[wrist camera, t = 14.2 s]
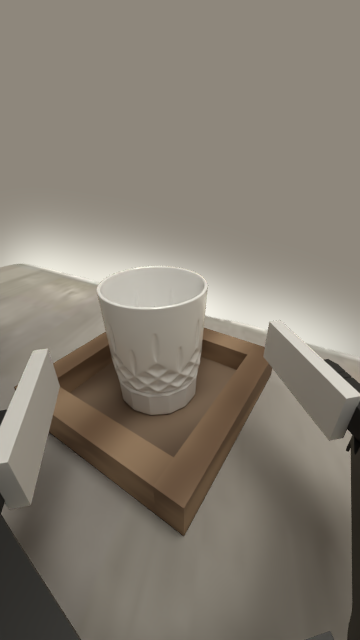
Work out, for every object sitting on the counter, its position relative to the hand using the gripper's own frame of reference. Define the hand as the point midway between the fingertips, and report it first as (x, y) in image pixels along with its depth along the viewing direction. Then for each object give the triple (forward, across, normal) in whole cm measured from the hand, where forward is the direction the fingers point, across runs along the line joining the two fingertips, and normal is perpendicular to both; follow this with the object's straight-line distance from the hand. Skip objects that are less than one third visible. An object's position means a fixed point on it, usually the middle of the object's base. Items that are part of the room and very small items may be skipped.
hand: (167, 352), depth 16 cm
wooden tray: (+5, 0, -8) cm, 10 cm away
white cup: (+5, 0, -8) cm, 9 cm away
